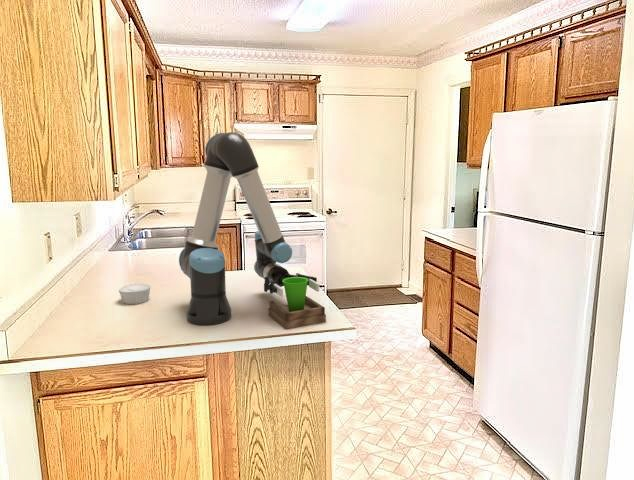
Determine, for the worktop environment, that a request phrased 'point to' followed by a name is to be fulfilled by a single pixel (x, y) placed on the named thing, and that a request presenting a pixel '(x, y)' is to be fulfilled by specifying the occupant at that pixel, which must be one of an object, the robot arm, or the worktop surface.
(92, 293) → the worktop surface
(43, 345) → the worktop surface
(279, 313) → the wooden tray
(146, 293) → the ramekin
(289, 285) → the cup
